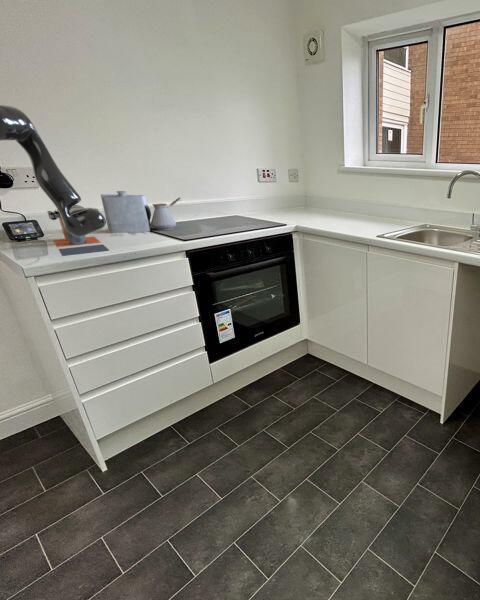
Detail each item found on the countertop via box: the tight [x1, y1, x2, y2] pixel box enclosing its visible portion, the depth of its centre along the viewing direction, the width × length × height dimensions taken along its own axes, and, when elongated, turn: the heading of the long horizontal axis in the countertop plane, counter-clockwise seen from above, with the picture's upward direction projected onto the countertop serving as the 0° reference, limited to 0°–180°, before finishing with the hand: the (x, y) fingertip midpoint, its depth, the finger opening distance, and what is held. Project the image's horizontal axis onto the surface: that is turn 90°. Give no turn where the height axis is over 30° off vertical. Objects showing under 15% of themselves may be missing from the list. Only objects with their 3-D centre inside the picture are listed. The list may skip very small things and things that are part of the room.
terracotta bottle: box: [56, 208, 69, 241], centre depth 151 cm, size 6×6×19 cm
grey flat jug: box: [100, 193, 152, 230], centre depth 179 cm, size 19×5×18 cm, turn 105°
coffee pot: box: [150, 197, 181, 231], centre depth 188 cm, size 21×12×15 cm, turn 172°
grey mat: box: [58, 244, 110, 257], centre depth 140 cm, size 14×12×1 cm
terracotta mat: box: [53, 236, 102, 248], centre depth 152 cm, size 14×17×1 cm
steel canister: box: [62, 220, 87, 246], centre depth 146 cm, size 6×6×12 cm
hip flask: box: [100, 190, 151, 234], centre depth 171 cm, size 16×4×20 cm, turn 131°
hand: (72, 211), depth 135 cm, fingers open, 8 cm apart
